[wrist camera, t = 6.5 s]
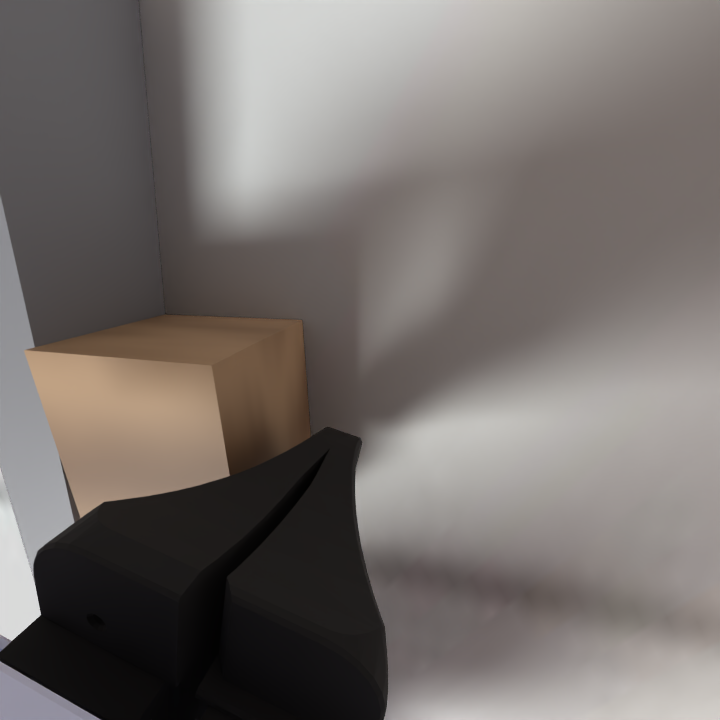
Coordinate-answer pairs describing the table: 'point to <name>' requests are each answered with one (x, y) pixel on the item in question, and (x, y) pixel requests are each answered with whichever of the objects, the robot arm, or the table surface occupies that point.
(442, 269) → the table surface
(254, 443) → the tan block
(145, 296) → the gray rectangular bar
